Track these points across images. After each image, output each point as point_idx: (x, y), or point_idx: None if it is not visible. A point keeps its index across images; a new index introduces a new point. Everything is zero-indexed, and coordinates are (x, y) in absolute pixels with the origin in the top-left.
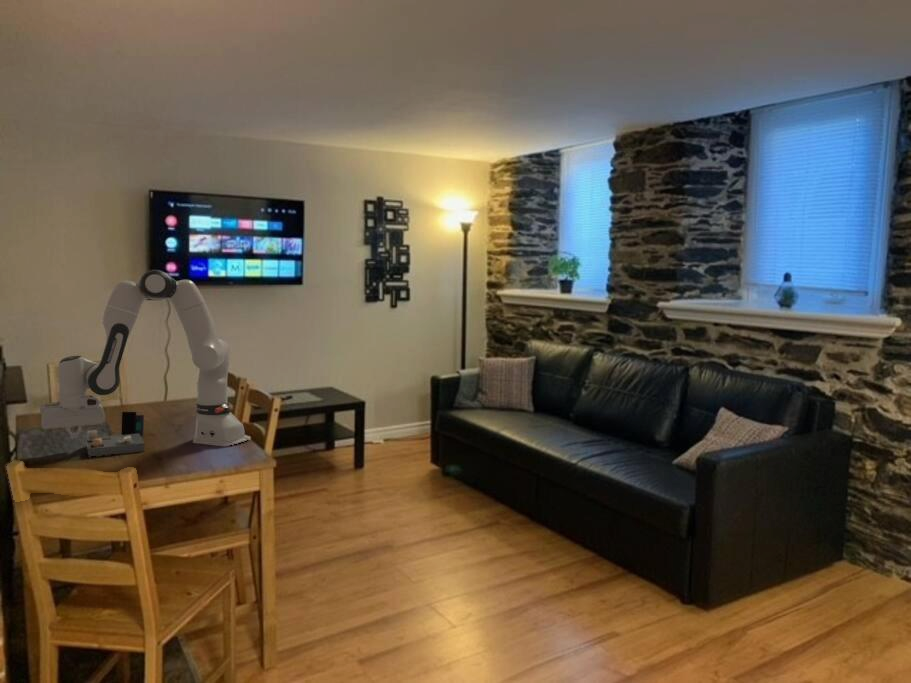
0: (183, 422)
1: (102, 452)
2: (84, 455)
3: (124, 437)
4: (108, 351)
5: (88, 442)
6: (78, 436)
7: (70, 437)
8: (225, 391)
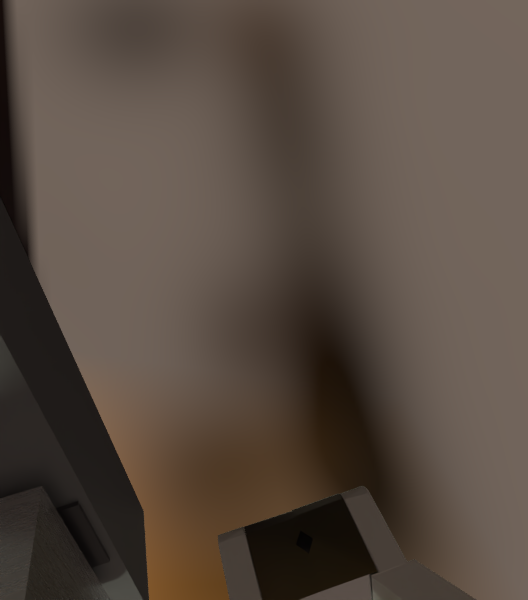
0: None
1: None
2: (6, 30)
3: None
4: None
5: (26, 439)
6: (235, 553)
7: (369, 502)
8: None
